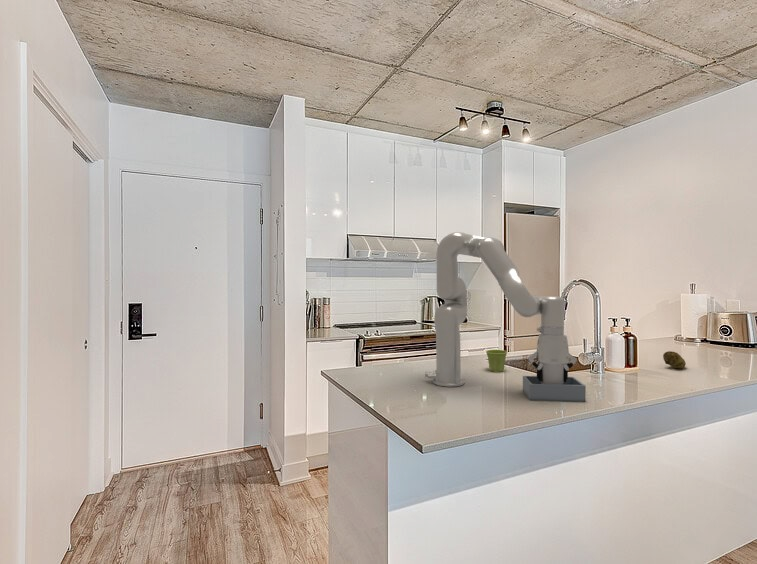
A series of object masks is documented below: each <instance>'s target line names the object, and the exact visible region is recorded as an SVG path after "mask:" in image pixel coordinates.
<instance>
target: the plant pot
mask: <svg viewBox="0 0 757 564" xmlns="http://www.w3.org/2000/svg"><path fill="white" fill-rule="evenodd" d="M485 353H486V355H487V361H488V367H489V371H490V372H493V373H501V372H505V364H506V357H507V354H508V351H506V350H503V349H487V350H485Z"/></svg>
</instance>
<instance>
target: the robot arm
mask: <svg viewBox="0 0 757 564" xmlns="http://www.w3.org/2000/svg"><path fill="white" fill-rule="evenodd" d="M459 255H462V256H468V257H474V258H479V259H481V260H482V262H483V263H484V264H485V265H486V267H487V268H488V269H489V271H490V273H491V274H492V275H493V276H494V278H495V280H496V281H497V284H498V286H500V289H501V291H502V292H503V294H504V296H505V298H506V299H507V301H508V302H509V303H510V305H511V306H512V308H513V309H514V311H516V313H517V314H518V315H520V316H521V317H523V318H532V317H534V316H537V315H540V327H537V328H536V332H539V334H538V337H537V342H536V343H537V344H536V351H535V352H533V353H532V354H530V355H529V356H528V357H527V360H528V361H529V362H530V364H531V365H533V367H534V368H535V369H536V376H537V378H538V380H539V381H542V370H541V368H542V366H543V364H547V363H548V362H550V361H552V360H550V359H559V360H557V361H559V362H560V363H562V364H564V382H566V379H568V377H569V375H568V374H569V373H568V372H569V371H570V369H571V368H572V367H573V366H574V364H576V362H577V361H578V359H577V358H576V357H575V356H574V355H572V354H571V353H570V350H569V342H568V336H567V335H566V334H565V299H564V298H563V297H561V296H557V295H555V296H554V295H552V296H551V295H550V296H549V295H546V296H543V295H542V296H541V295H534V294H531V293H530V292H529V290H528V289H527V288H526V286H525V285H524V283H523V281H522V279H521V277H520V274H519V273H520V272H519V269H518V267H517V266H516V264H515V262H513V260H512V259H511V257H510V256H509V255H508V253H507V252H506V250H505V246H504V244H503V242H502V241H501V240H500V239H498V238H494V237H483V236H479V235H473V234H469V233H464V232H461V231H459V232H458V231H456V232H454V231H453V232H452V233H448V234H447V235H445V236H444V237H443V238H442V239H441V240H440V242H439V244H438V246H437V248H436V259H435V260H436V293H437V296H438V297H439V298H440V299H442V300H444V304H441V305H440V306H439V307H438V308H437V309H436V310H435V312H434V317H433V320H434V321H433V322H434V328H435V341H436V342H435V350H436V351H435V352H436V353H435V354H436V355H435V357H436V360H435V361H436V362H435V364H436V368H435V371H431V372H430V371H425V374H424V376H425V378H428V379H431V378H432V384H434V385H437V386H439V387H447V388H449V387H461V386H463V385H465V379H463V378H462V377H461V375H462V373H461V371H462V370H461V334H460V333H461V331H460V326H459V325H462V324H463V323H464V322H465V321H466V318H467V315H468V298H467V297H468V295H467V294H468V293H467V292H468V290H467V285H466V282H465V281H464V280H463V279H462V278H461V277H459V263H458V256H459ZM535 358H536V360H537V361H538V362H536V361H535V360H534V359H535Z"/></svg>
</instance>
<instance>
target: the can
mask: <svg viewBox="0 0 757 564" xmlns="http://www.w3.org/2000/svg"><path fill="white" fill-rule="evenodd" d="M550 360H552V361H550V362H548V363H547V364H543V366H542V368H541V370H542V381H541V384H559V385H564V364H562V363H560V362H559V361H557V360H559V359H550Z"/></svg>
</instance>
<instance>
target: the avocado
mask: <svg viewBox="0 0 757 564" xmlns="http://www.w3.org/2000/svg"><path fill="white" fill-rule="evenodd" d="M662 357H663V358H662V359H663V362H664V363H665V364H666V365H668V366H670V367H672V368H674V369H677V370H678V369H679V370H680V369H684V368H685V367H686V363H687V362H686V361H685V359H684V358H683V357H682V356H681V355H680V354H679V353H678V352H675V351H672V350H669V351H666V352H664V353H663V355H662Z"/></svg>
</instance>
